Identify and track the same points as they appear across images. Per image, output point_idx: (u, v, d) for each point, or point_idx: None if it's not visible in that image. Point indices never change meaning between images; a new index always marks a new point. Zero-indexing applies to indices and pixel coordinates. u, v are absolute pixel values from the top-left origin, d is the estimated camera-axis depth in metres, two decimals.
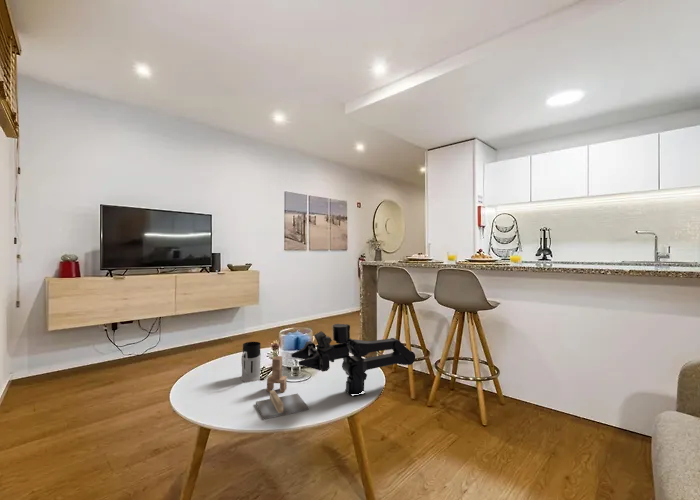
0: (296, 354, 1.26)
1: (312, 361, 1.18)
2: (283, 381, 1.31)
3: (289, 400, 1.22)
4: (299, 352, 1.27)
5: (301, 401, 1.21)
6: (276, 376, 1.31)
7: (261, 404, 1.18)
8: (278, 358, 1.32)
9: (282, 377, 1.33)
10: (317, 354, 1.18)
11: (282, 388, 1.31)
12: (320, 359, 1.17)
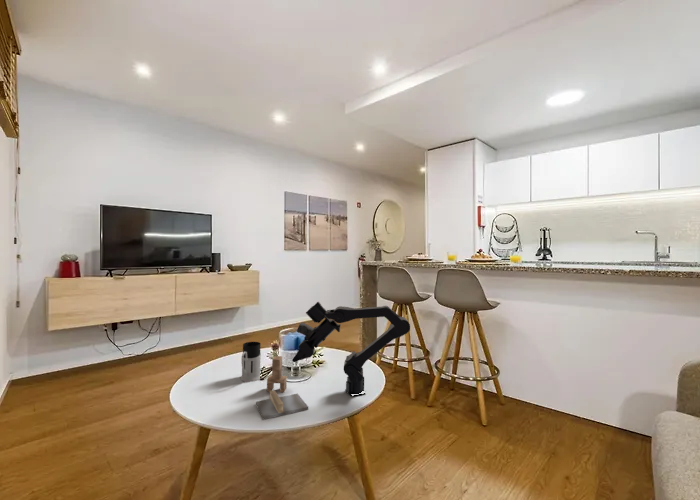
0: None
1: (301, 353, 1.27)
2: (283, 381, 1.31)
3: (289, 400, 1.22)
4: None
5: (301, 401, 1.21)
6: (276, 376, 1.31)
7: (261, 404, 1.18)
8: (278, 358, 1.32)
9: (282, 377, 1.33)
10: None
11: (282, 388, 1.31)
12: None
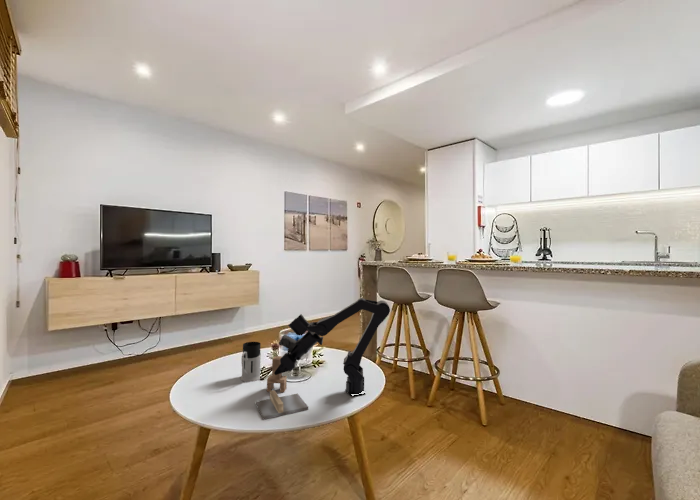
0: None
1: (282, 366, 1.27)
2: (283, 381, 1.31)
3: (289, 400, 1.22)
4: None
5: (301, 401, 1.21)
6: (276, 376, 1.31)
7: (261, 404, 1.18)
8: (278, 358, 1.32)
9: (282, 377, 1.33)
10: None
11: (282, 388, 1.31)
12: None
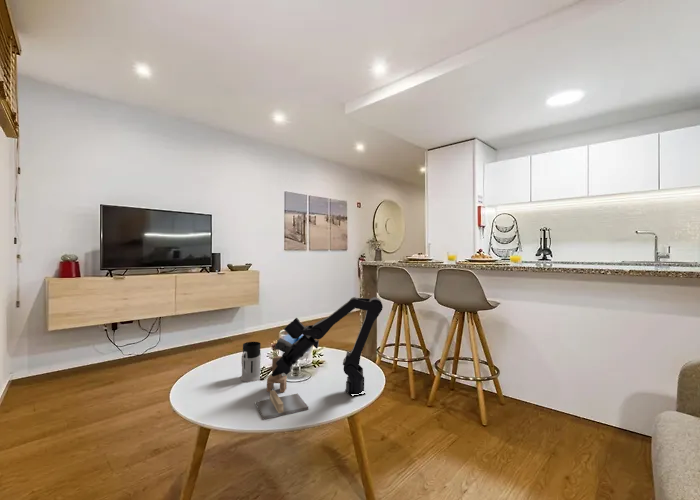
0: None
1: (280, 367, 1.30)
2: (283, 381, 1.31)
3: (289, 400, 1.22)
4: None
5: (301, 401, 1.21)
6: (276, 376, 1.31)
7: (261, 404, 1.18)
8: (278, 358, 1.33)
9: (282, 377, 1.33)
10: None
11: (282, 388, 1.31)
12: None
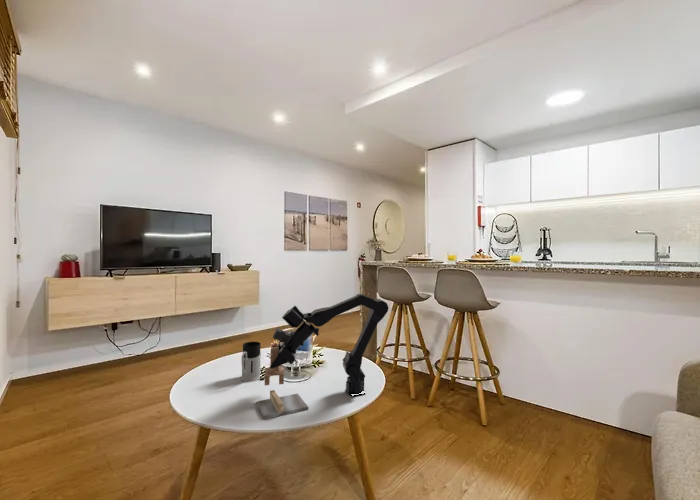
0: None
1: (280, 358, 1.23)
2: (282, 372, 1.25)
3: (289, 400, 1.22)
4: None
5: (301, 401, 1.21)
6: (275, 368, 1.24)
7: (261, 404, 1.18)
8: (276, 349, 1.25)
9: (280, 369, 1.27)
10: (278, 351, 1.22)
11: (281, 380, 1.24)
12: None
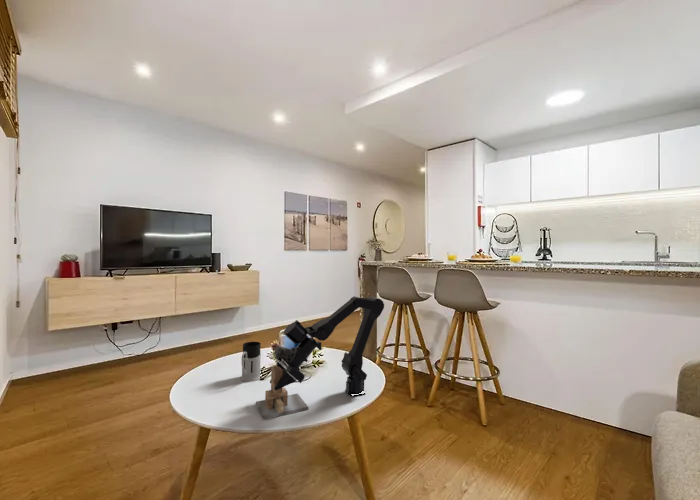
0: None
1: (285, 378, 1.15)
2: (286, 393, 1.18)
3: (289, 400, 1.22)
4: None
5: (301, 401, 1.21)
6: (279, 389, 1.16)
7: (261, 404, 1.18)
8: (279, 369, 1.18)
9: (282, 389, 1.19)
10: (284, 371, 1.14)
11: (285, 401, 1.17)
12: (289, 374, 1.14)
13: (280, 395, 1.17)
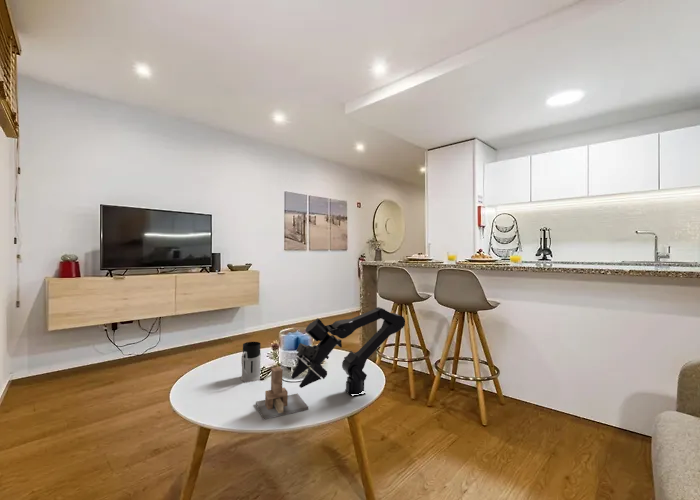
0: (295, 373, 1.26)
1: (310, 376, 1.18)
2: (286, 393, 1.18)
3: (289, 400, 1.22)
4: (296, 370, 1.26)
5: (301, 401, 1.21)
6: (279, 389, 1.16)
7: (261, 404, 1.18)
8: (279, 369, 1.18)
9: (282, 389, 1.19)
10: (309, 369, 1.17)
11: (285, 401, 1.17)
12: (314, 372, 1.16)
13: (280, 395, 1.17)
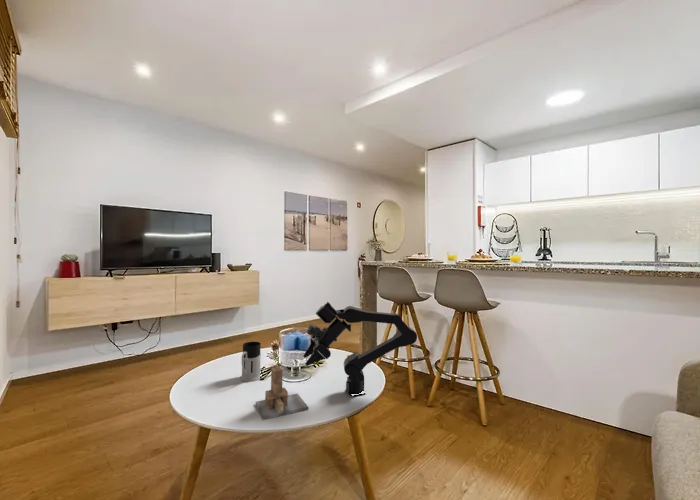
0: (307, 353, 1.33)
1: (315, 355, 1.24)
2: (286, 393, 1.18)
3: (289, 400, 1.22)
4: (308, 350, 1.34)
5: (301, 401, 1.21)
6: (279, 389, 1.16)
7: (261, 404, 1.18)
8: (279, 369, 1.18)
9: (282, 389, 1.19)
10: (314, 349, 1.23)
11: (285, 401, 1.17)
12: (318, 351, 1.22)
13: (280, 395, 1.17)
